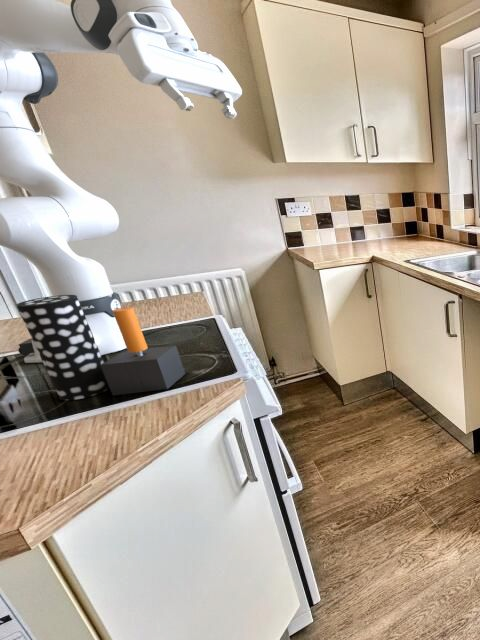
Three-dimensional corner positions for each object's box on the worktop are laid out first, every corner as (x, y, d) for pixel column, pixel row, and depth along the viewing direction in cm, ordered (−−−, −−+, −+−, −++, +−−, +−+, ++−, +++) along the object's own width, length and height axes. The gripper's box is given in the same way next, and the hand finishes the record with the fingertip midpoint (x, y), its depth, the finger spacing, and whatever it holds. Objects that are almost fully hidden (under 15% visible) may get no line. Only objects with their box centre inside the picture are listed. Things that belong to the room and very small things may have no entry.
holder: (112, 395, 87) (99, 364, 85) (135, 379, 94) (124, 350, 92) (167, 389, 89) (156, 359, 87) (185, 373, 97) (176, 345, 94)
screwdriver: (138, 388, 90) (108, 312, 84) (146, 381, 93) (118, 307, 87) (155, 386, 91) (127, 310, 85) (163, 380, 94) (136, 306, 88)
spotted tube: (52, 404, 84) (6, 308, 77) (69, 387, 91) (28, 298, 84) (105, 394, 88) (66, 301, 81) (118, 379, 95) (83, 292, 88)
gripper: (207, 65, 89) (245, 129, 91) (96, 32, 70) (148, 113, 73) (225, 47, 86) (263, 112, 89) (116, 8, 68) (168, 92, 71)
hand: (211, 113), depth 81 cm, fingers open, 8 cm apart
